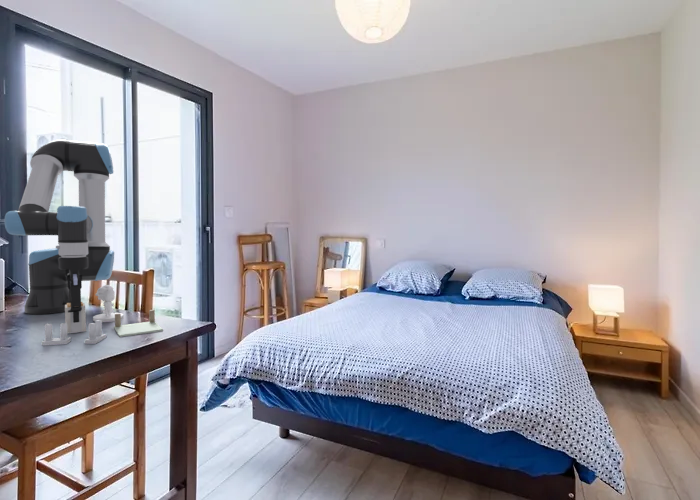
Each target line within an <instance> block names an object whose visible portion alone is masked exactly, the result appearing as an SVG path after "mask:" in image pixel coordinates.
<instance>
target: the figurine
mask: <svg viewBox="0 0 700 500" xmlns="http://www.w3.org/2000/svg"><path fill="white" fill-rule="evenodd" d="M94 295H95V296H96V297H97V300H99V301H100V300H101V301H102V302H103V308H104V309H103V310H102V312H103V313H100V314H96V315H93V316H92V321H93V322H95V321H96V320H102V323H110V322H115V314H118V313H119V314H121V320H123V319H124V318H125V317H124V313H122V312H113V307H114V308H115V305H114V303H112V302H113V301H114V300H115V297H116V296H115V290H114V288H113V286H112V285H109V284H106V285H105V284H104V285H103V286H101V287H99V288H97V291H96V293H95V294H94Z"/></svg>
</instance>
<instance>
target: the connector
mask: <svg viewBox="0 0 700 500" xmlns="http://www.w3.org/2000/svg"><path fill="white" fill-rule="evenodd" d="M76 307H78V306H76ZM81 307H82V310H81V322H82V332H81V333H83V332H86V331H87V328H86V327H87V323H86V319H87V317H86V304H85V303H84V302H83V301H81ZM70 309H71V303H67V305H65V311H64V321H65V322H64V323H67V333H68V334H72V333H71V319H70V312H68V310H70Z"/></svg>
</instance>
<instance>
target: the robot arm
mask: <svg viewBox="0 0 700 500" xmlns="http://www.w3.org/2000/svg"><path fill="white" fill-rule="evenodd" d="M29 163H30V168H31V171H30V174H29V176H28V180H27V183H26V185H25V188H24V191H23V194H22V198H21V201H20V203H19V207H18V210H9V211H7V212H6V213H5V216H4V227H5V230H6V232H7V233H8V234H9V235H11V236H12V235H13V236H24V237H26V236H57V242H58V243H57V244H58V245H55V248H54V247H52V248H47V249H45V248H44V249H39V250H33V251H31V253H29V256H28V274H29V276H28V277H29V293H28V295H27V298H26V301H25V305H24V306H23V307H24V313H25V314H27V315H28V314H29V315H49V314H57V313H62V312H64V313H65V305H67V303H71V309H70V310H68V312H70V319H71V333H70V334H76V333H83V332H82V322H81V310H82V307H81V302H82V291H81V290H82V286H83V285H82V282H87V281H88V282H93V281H95V282H98V281H106V280H108V279H110V278H111V276H112V273H113V268H114V264H115V263H114V262H115V251H114V250H112V249H111V246H110V245H109V244H108V243H107V242H106V193H105V192H106V189H105V188H106V187H105V183H106V182H107V181H108V180H109V179H110V175H112V174H114V165H113V159H112V154H111V150H110V148H109V146H108V145H107V144H105V143H100V142H99V143H98V142H95V141H94V142H93V141H83V140H82V141H80V140H68V139H55V140H51V141H49V142H46V143H45V144H44V145H42V146H40V147H39V148H38V149H36V151H34V153H33V154H32V156H31V159H30V162H29ZM65 171H66V172H73V176H74V177H75V178H76V179H77V181H78V205H59V206H58V207H57V210H56V211H50V207H51V203H52V199H53V196H54V191H55V188H56V185H57V180H58V177H59V176H60V175H61V174H62V173H63V172H65ZM76 306H78V307H76Z"/></svg>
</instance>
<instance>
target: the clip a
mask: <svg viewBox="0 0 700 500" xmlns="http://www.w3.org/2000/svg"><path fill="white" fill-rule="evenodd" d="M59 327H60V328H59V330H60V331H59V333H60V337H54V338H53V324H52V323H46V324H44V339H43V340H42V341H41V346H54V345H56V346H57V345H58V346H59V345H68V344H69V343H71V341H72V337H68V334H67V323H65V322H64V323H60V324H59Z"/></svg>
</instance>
